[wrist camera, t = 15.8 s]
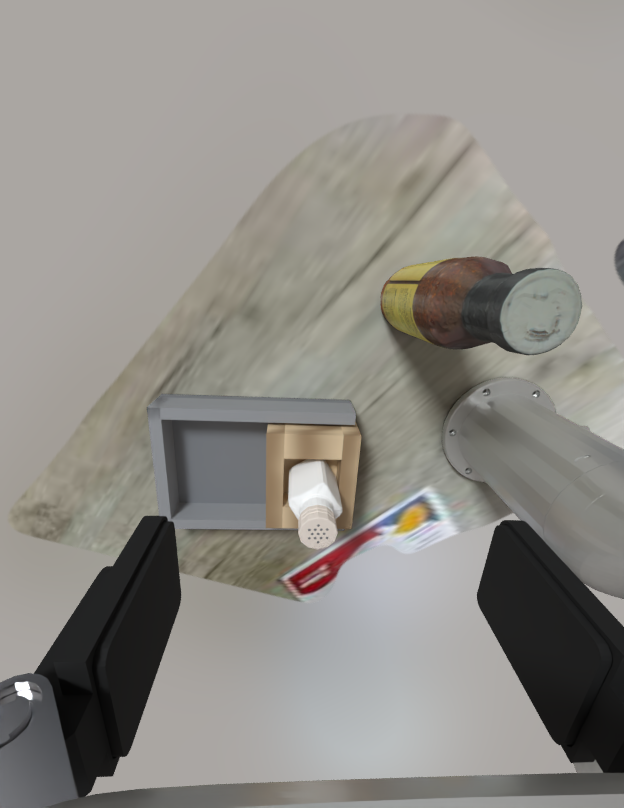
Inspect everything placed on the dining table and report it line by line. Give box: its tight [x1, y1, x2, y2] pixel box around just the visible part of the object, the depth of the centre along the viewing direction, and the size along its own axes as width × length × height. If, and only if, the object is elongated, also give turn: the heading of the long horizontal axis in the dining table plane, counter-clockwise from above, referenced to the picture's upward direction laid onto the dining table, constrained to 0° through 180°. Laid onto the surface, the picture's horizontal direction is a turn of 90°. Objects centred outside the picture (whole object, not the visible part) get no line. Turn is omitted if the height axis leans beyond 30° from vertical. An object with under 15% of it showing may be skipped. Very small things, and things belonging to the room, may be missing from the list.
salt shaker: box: [288, 459, 342, 549], centre depth 34 cm, size 4×4×10 cm
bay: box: [147, 394, 356, 531], centre depth 39 cm, size 20×14×4 cm
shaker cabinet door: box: [266, 421, 361, 529], centre depth 38 cm, size 9×11×4 cm
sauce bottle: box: [381, 257, 582, 355], centre depth 26 cm, size 6×6×20 cm
